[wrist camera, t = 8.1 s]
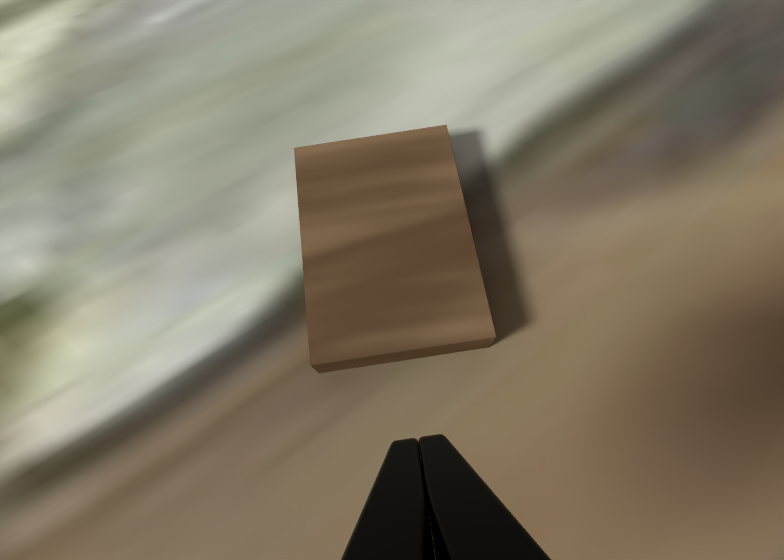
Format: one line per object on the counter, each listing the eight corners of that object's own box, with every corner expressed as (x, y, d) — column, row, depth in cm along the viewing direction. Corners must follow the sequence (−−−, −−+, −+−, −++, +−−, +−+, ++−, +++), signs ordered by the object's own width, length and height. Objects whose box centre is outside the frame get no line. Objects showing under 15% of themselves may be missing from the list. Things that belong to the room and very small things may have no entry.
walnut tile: (496, 336, 17) (446, 124, 21) (310, 365, 17) (294, 148, 21) (488, 349, 19) (444, 153, 23) (321, 374, 19) (304, 174, 23)
